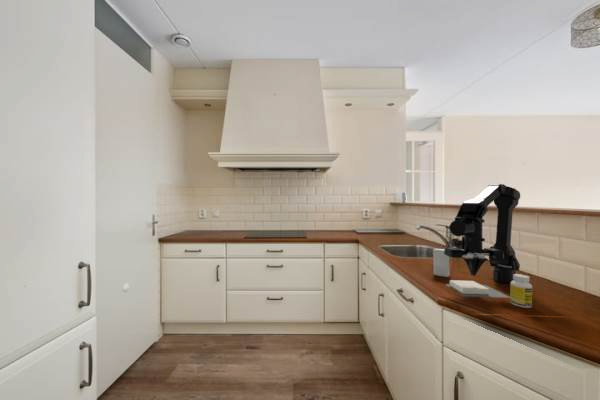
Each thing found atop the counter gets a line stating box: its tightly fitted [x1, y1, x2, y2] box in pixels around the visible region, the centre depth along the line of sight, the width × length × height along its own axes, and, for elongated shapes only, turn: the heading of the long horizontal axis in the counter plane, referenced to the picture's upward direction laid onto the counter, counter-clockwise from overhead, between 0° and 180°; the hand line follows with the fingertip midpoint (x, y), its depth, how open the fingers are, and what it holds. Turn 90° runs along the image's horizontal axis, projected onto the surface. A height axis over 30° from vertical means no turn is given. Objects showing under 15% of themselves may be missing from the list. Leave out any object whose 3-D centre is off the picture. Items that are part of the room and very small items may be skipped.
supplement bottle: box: [509, 273, 533, 308], centre depth 82 cm, size 5×5×10 cm
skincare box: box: [432, 248, 450, 278], centre depth 115 cm, size 6×4×12 cm
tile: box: [449, 279, 489, 295], centre depth 95 cm, size 2×9×9 cm
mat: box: [445, 283, 510, 299], centre depth 95 cm, size 16×13×1 cm
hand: (473, 275), depth 95 cm, fingers closed
